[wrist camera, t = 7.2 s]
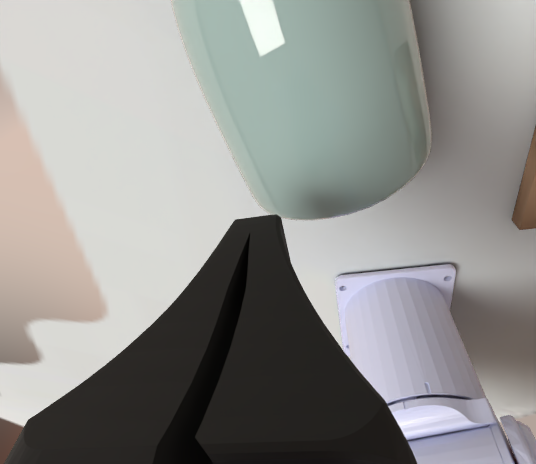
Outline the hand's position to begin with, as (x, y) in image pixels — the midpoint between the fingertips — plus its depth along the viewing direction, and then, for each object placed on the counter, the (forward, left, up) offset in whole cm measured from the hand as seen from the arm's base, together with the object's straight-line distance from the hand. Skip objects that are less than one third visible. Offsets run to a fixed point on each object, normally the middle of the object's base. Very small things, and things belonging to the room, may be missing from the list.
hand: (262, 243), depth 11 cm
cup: (+9, -1, -7) cm, 11 cm away
